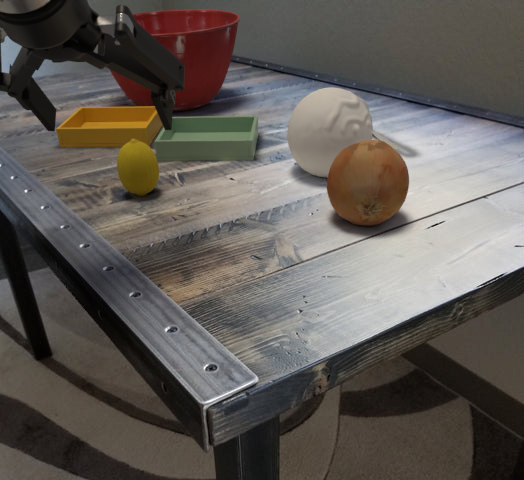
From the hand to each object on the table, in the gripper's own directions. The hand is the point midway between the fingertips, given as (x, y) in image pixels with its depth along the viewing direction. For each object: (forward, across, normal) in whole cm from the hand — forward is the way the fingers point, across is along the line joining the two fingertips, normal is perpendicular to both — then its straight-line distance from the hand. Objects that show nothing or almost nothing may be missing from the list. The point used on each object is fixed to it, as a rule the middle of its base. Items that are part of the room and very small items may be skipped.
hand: (110, 119), depth 67 cm
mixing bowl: (+49, -4, +31) cm, 58 cm away
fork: (+34, +34, +15) cm, 50 cm away
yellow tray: (+34, -11, +16) cm, 39 cm away
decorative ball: (+21, +26, +2) cm, 33 cm away
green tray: (+29, +7, +11) cm, 32 cm away
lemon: (+15, 0, -3) cm, 15 cm away
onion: (+10, +30, -9) cm, 33 cm away
